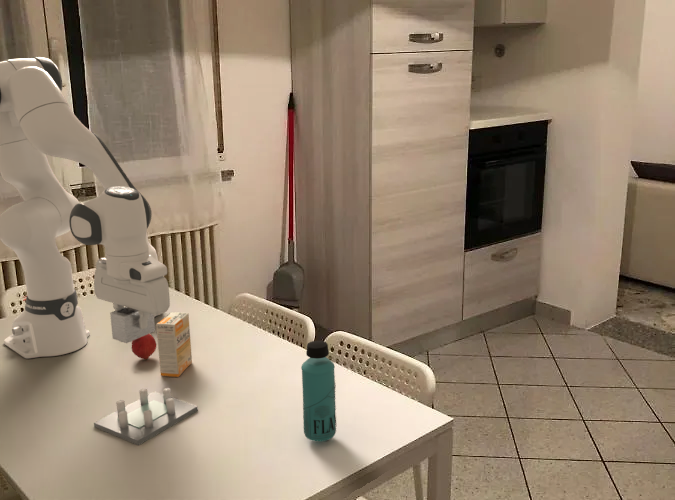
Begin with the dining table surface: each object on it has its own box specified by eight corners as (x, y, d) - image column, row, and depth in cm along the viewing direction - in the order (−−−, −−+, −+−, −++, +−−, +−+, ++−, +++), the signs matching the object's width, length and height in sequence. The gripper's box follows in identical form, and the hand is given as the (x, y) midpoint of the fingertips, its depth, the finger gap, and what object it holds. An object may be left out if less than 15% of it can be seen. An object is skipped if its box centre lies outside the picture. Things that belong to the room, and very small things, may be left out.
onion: (139, 366, 169) (136, 335, 167) (128, 359, 173) (125, 328, 171) (161, 359, 173) (158, 329, 171) (150, 352, 177) (147, 322, 175)
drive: (112, 338, 152) (110, 312, 150) (141, 326, 158) (139, 301, 156) (126, 343, 149) (124, 316, 148) (155, 331, 156) (153, 305, 154)
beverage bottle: (310, 452, 131) (307, 353, 126) (298, 435, 137) (294, 340, 132) (342, 444, 134) (340, 346, 128) (328, 428, 140) (326, 334, 134)
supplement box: (179, 377, 163) (174, 325, 159) (160, 376, 164) (155, 323, 160) (193, 362, 171) (189, 312, 167) (174, 361, 172) (170, 311, 168)
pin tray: (94, 427, 142) (92, 409, 141) (154, 395, 155) (153, 378, 154) (138, 445, 135) (136, 426, 134) (197, 410, 148) (196, 393, 147)
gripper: (83, 259, 152) (90, 319, 156) (149, 276, 141) (154, 339, 145) (107, 252, 157) (112, 311, 161) (172, 268, 146) (176, 330, 150)
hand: (133, 324), depth 153 cm, fingers closed on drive, 4 cm apart
